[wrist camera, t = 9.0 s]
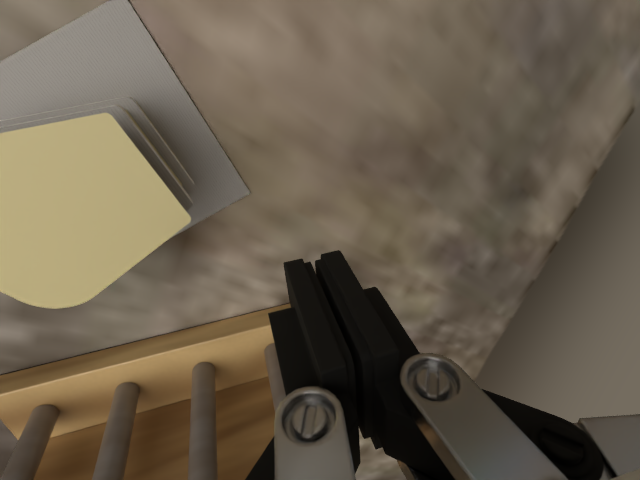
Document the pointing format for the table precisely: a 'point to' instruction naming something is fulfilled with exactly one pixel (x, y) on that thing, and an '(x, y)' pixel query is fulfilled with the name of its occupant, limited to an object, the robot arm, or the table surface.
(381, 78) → the table surface
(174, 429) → the peg rack
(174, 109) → the stacked layers on plate
